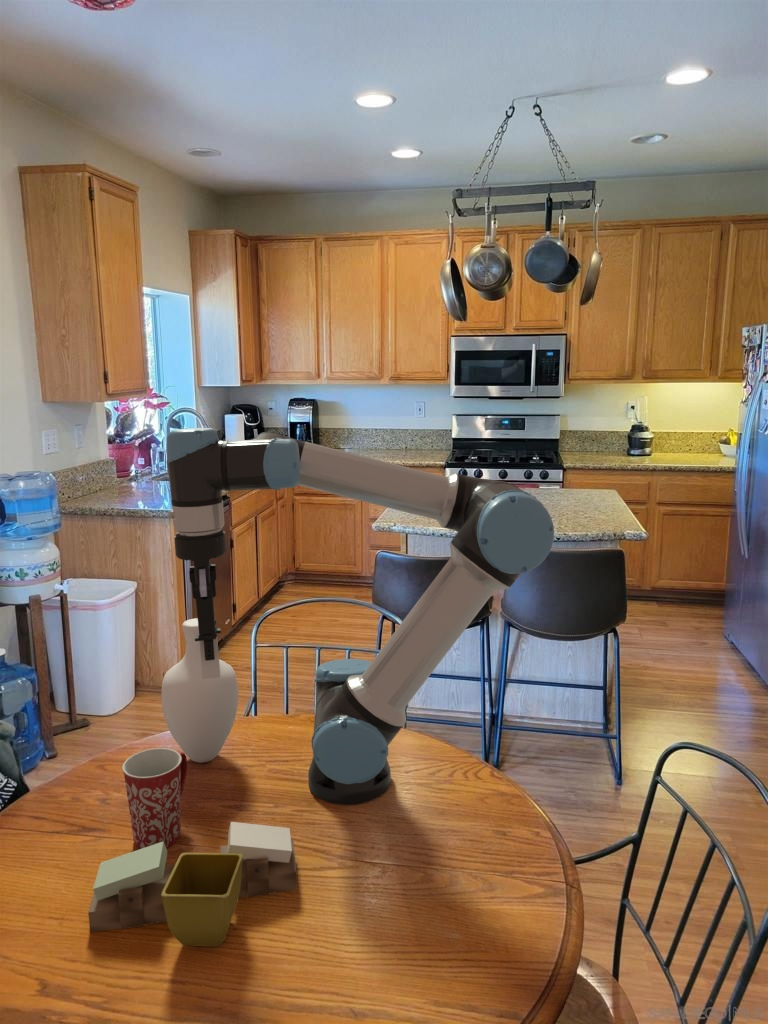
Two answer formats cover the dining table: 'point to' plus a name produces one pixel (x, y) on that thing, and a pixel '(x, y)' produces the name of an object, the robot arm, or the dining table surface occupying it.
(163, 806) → the mug
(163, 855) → the rocker green
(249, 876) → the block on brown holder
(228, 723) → the vase
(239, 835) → the block
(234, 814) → the dining table surface
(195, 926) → the flower pot
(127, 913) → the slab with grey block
